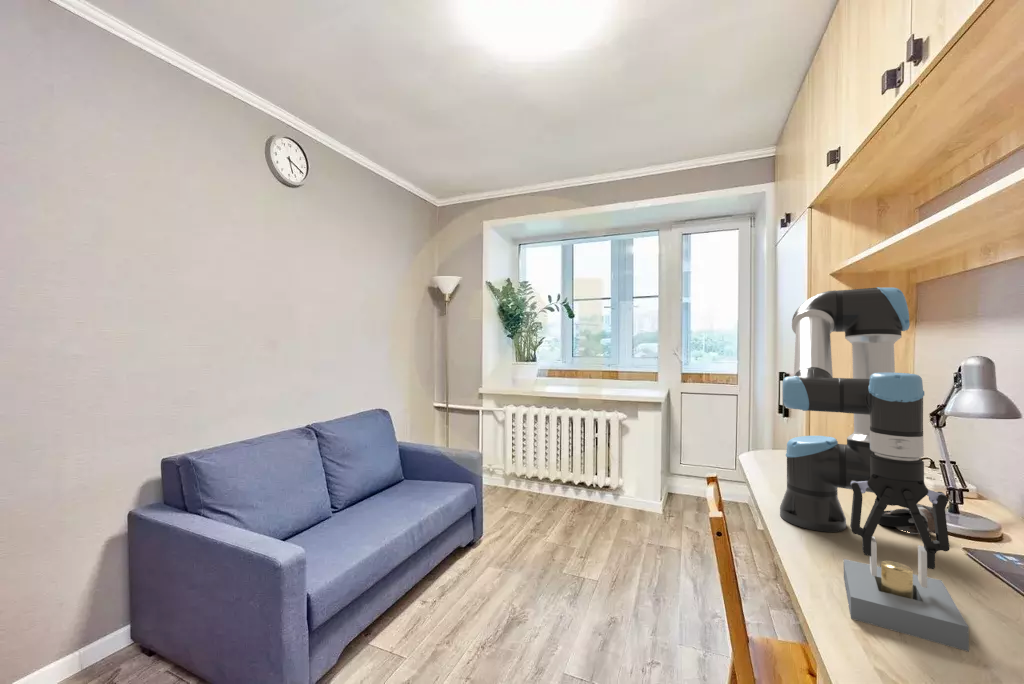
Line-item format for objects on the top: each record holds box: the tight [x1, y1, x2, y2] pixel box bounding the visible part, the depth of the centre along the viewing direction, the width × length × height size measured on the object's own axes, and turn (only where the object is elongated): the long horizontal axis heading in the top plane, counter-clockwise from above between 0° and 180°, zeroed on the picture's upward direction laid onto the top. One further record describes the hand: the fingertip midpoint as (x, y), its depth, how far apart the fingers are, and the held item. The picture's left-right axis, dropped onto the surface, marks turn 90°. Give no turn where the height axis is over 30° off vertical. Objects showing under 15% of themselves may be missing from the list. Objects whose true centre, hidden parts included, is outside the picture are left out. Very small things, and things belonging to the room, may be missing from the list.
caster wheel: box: [878, 503, 936, 535], centre depth 113 cm, size 7×11×10 cm
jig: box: [842, 558, 970, 652], centre depth 80 cm, size 16×15×4 cm
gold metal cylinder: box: [880, 560, 914, 599], centre depth 80 cm, size 4×4×8 cm
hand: (897, 578), depth 80 cm, fingers open, 6 cm apart
